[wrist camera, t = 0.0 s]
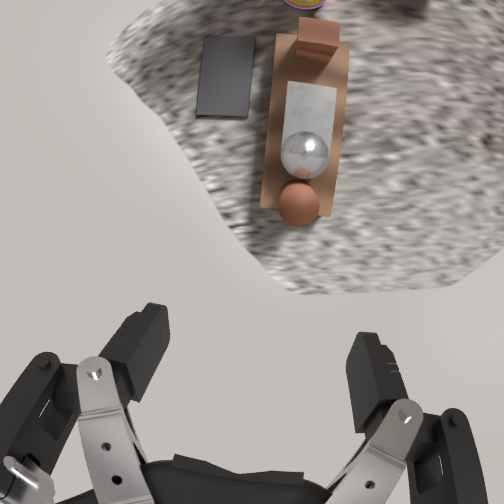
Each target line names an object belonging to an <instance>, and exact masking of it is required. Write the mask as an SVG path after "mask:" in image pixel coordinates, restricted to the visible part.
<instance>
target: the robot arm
mask: <svg viewBox="0 0 504 504" xmlns="http://www.w3.org/2000/svg"><path fill="white" fill-rule="evenodd" d="M169 340H170V329H169V320H168V310H167V307H166V306H165V305H160V304H155V303H148V304H147V305H146V306H145V308H144V309H143V310H142V312H135V313H133V314H132V315H130V316H129V317H127V318H126V319H125V321H124V322H123V323H122V325H121V327H119V329H118V330H117V331H116V333H115V334H114V335H113V337H112V338H111V339H110V341H109V342H108V343H107V345H106V346H105V347H104V349H103V350H102V351H101V353H100V354H99V356H98V357H89V358H86V359H85V360H83V361H82V362H81V363H80V364H79V365H75V364H64V363H61V362H60V360H59V358H58V356H57V355H56V354H54V353H52V352H43V353H40V354H38V355H37V356H35V357H34V358H33V359H32V361H31V362H30V363H29V365H28V366H27V367H26V369H25V370H24V371H23V373H22V374H21V375H20V377H19V378H18V380H17V381H16V382H15V384H14V385H13V387H12V388H11V390H10V391H9V392H8V394H7V395H6V397H5V398H4V400H3V401H2V403H1V404H0V502H1V503H3V504H54V501H53V496H54V495H55V489H54V483H53V480H52V478H51V477H50V476H51V473H52V471H53V469H54V467H55V464H56V462H57V460H58V458H59V455H60V453H61V451H62V449H63V447H64V445H65V443H66V441H67V439H68V437H69V435H70V433H71V431H72V429H73V427H74V425H75V423H76V421H77V419H78V425H79V431H80V436H81V441H82V446H83V450H84V455H85V459H86V463H87V467H88V470H89V474H90V478H91V481H92V484H93V487H94V489H91V490H89V491H87V492H85V493H82V494H80V495H77V496H75V497H72V498H70V499H67V500H64V501H61V502H58V503H56V504H385V502H386V500H387V499H388V497H389V496H390V494H391V492H392V491H393V489H394V487H395V486H396V484H397V482H398V481H399V479H400V477H401V475H402V473H403V471H404V470H405V468H406V465H407V469H408V478H409V489H410V502H411V504H488V500H487V493H486V487H485V482H484V477H483V473H482V468H481V464H480V460H479V456H478V452H477V448H476V445H475V442H474V438H473V434H472V431H471V428H470V425H469V422H468V419H467V417H466V415H465V414H464V413H463V412H462V411H461V410H459V409H456V408H450V409H447V410H446V411H444V413H443V414H442V415H441V416H438V415H433V414H427V413H423V411H422V409H421V407H420V406H419V405H418V404H417V403H416V402H414V401H412V400H410V399H409V398H408V395H407V392H406V389H405V386H404V383H403V380H402V377H401V374H400V372H399V368H398V366H397V364H396V360H395V357H394V355H393V353H392V352H391V350H389V348H388V347H387V346H386V345H381V343H380V340H379V338H378V335H377V333H372V332H371V333H370V332H359V333H358V334H357V336H356V338H355V341H354V343H353V346H352V348H351V351H350V353H349V355H348V358H347V362H346V374H347V380H348V386H349V391H350V398H351V405H352V411H353V418H354V426H355V433H365V437H366V439H365V440H364V441H363V442H362V444H361V445H360V447H359V448H358V449H357V451H356V452H355V453H354V455H353V456H352V458H351V459H350V460H349V461H348V463H347V464H346V465H345V467H344V468H343V469H342V471H341V472H340V473H339V474H338V475H337V476H336V477H335V478H334V479H333V481H332V482H331V483H330V484H329V485H328V486H327V487H326V488H324V487H322V486H320V485H318V484H316V483H314V482H311V481H308V480H305V479H303V476H304V472H283V471H267V472H257V473H247V474H236V473H233V472H230V471H228V470H225V469H223V468H220V467H218V466H216V465H213V464H211V463H209V462H206V461H202V460H198V459H194V458H189V457H185V456H181V455H178V454H175V455H174V458H173V460H161V461H154V462H151V463H149V462H148V460H147V458H146V455H145V453H144V451H143V449H142V447H141V444H140V442H139V439H138V437H137V434H136V431H135V428H134V425H133V422H132V419H131V416H130V413H129V410H128V407H127V406H128V404H129V402H130V400H133V401H137V402H140V401H141V399H142V397H143V394H144V393H145V391H146V389H147V387H148V384H149V382H150V380H151V378H152V376H153V374H154V372H155V370H156V368H157V367H158V365H159V363H160V361H161V359H162V357H163V355H164V353H165V351H166V349H167V347H168V344H169ZM48 400H50V401H49V402H48ZM47 402H48V404H47ZM46 404H47V406H46V407H45V405H46ZM44 407H45V409H44V411H43V412H42V410H43V408H44ZM41 412H42V414H41ZM40 414H41V416H40ZM80 414H81V415H80ZM79 415H80V416H79ZM39 416H40V417H39ZM439 456H440V458H439ZM440 459H441V463H440ZM405 461H406V462H407V463H406V462H405ZM441 464H442V469H441ZM442 470H443V475H442Z"/></svg>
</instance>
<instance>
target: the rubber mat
mask: <svg viewBox="0 0 504 504" xmlns="http://www.w3.org/2000/svg"><path fill="white" fill-rule="evenodd" d="M255 40H256V38H255V37H205V39H204V47H203V55H202V63H201V72H200V81H199V91H198V102H197V114H196V115H221V116H241V117H248V111H249V100H250V90H251V79H252V69H253V59H254V50H255Z"/></svg>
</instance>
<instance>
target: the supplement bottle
mask: <svg viewBox="0 0 504 504" xmlns="http://www.w3.org/2000/svg"><path fill="white" fill-rule="evenodd" d="M284 1H285V2H286V3H287V4H289V5H291V6H293V7H295V8H299V9H314V8H317V7H319V6H321V5H322V4H323V3H324V2H325V1H326V0H284Z"/></svg>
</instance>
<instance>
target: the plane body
mask: <svg viewBox="0 0 504 504" xmlns="http://www.w3.org/2000/svg"><path fill="white" fill-rule="evenodd" d="M339 26H340V23H337V22H332V21H327V20H321V19H314V18H307V17H299V24H298V33H297V35H293V34H283V33H277V34H276V44H275V55H274V66H273V76H272V87H271V97H270V108H269V118H268V128H267V139H266V149H265V159H264V169H263V180H262V190H261V200H260V208H267V209H275V210H279V212H280V215H281V216H282V218H283V219H284V220H285V221H286V222H287V223H289V224H291V225H293V226H305V225H308V224H310V223H311V222H313V221H314V220H315V219H316V217H317V215H320V216H326V217H330V214H331V209H332V203H333V197H334V191H335V184H336V178H337V171H338V164H339V157H340V150H341V142H342V133H343V125H344V115H345V105H346V94H347V82H348V67H349V48H350V44H348V43H343V42H339ZM288 81H293V82H301V83H309V84H315V85H321V86H327V87H333V88H337V93H336V104H335V114H334V123H333V132H332V141H331V149H330V157H329V162H328V165H327V167H326V169H325V170H324V171H323V172H322V173H321V174H320V175H318V176H317V177H314V178H311V179H301V178H297V177H295V176H293V175H291V174H290V173H289V172H288V171H287V170H286V169H285V167H284V166H283V163H282V160H281V146H282V136H283V127H284V117H285V106H286V96H287V85H288Z"/></svg>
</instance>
